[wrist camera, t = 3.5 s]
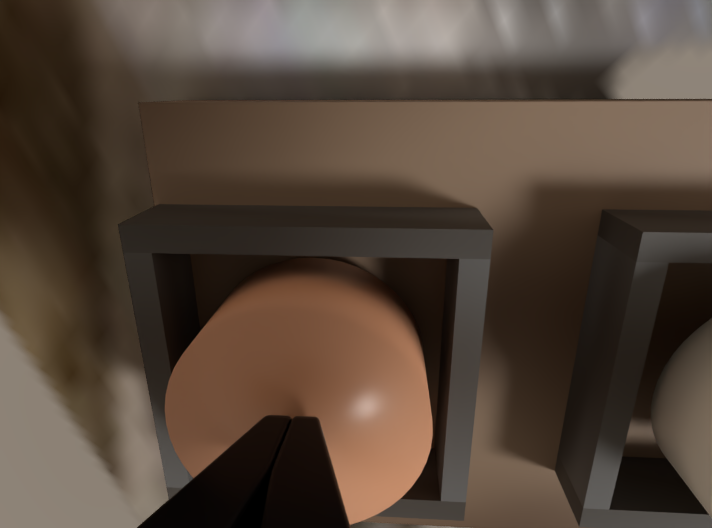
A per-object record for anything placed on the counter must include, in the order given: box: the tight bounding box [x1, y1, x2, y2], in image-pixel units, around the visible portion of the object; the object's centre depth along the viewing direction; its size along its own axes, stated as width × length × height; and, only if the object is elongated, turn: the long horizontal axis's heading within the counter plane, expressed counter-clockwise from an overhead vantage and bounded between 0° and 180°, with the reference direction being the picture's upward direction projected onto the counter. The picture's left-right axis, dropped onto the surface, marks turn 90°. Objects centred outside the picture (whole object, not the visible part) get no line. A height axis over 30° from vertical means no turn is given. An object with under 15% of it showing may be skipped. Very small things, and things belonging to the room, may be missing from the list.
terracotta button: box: [165, 258, 433, 524], centre depth 9 cm, size 4×4×2 cm
